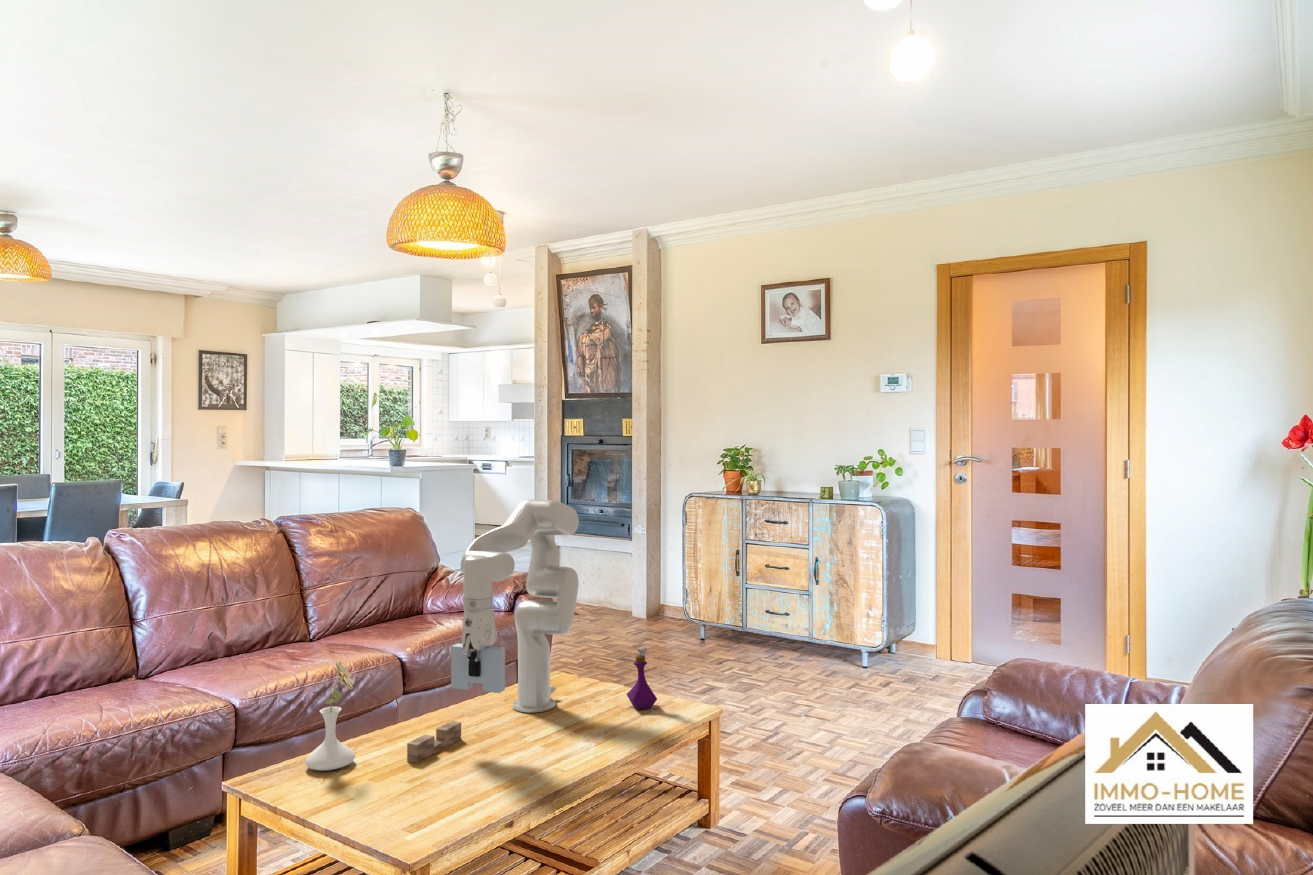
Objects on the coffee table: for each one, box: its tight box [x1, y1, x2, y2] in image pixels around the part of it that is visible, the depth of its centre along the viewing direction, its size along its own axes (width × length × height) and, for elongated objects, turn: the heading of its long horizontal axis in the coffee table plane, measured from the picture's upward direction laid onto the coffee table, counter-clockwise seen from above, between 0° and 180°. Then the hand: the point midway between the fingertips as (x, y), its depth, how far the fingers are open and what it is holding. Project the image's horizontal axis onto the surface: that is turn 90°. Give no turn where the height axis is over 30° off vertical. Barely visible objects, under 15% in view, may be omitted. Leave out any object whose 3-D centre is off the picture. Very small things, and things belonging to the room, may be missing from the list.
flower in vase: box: [304, 660, 356, 771], centre depth 206 cm, size 13×11×25 cm
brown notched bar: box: [406, 720, 462, 764], centre depth 216 cm, size 18×3×4 cm, turn 157°
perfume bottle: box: [626, 647, 658, 711], centre depth 250 cm, size 8×8×18 cm
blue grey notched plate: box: [450, 643, 506, 694], centre depth 218 cm, size 3×14×11 cm, turn 73°
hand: (478, 673), depth 218 cm, fingers closed on blue grey notched plate, 3 cm apart
